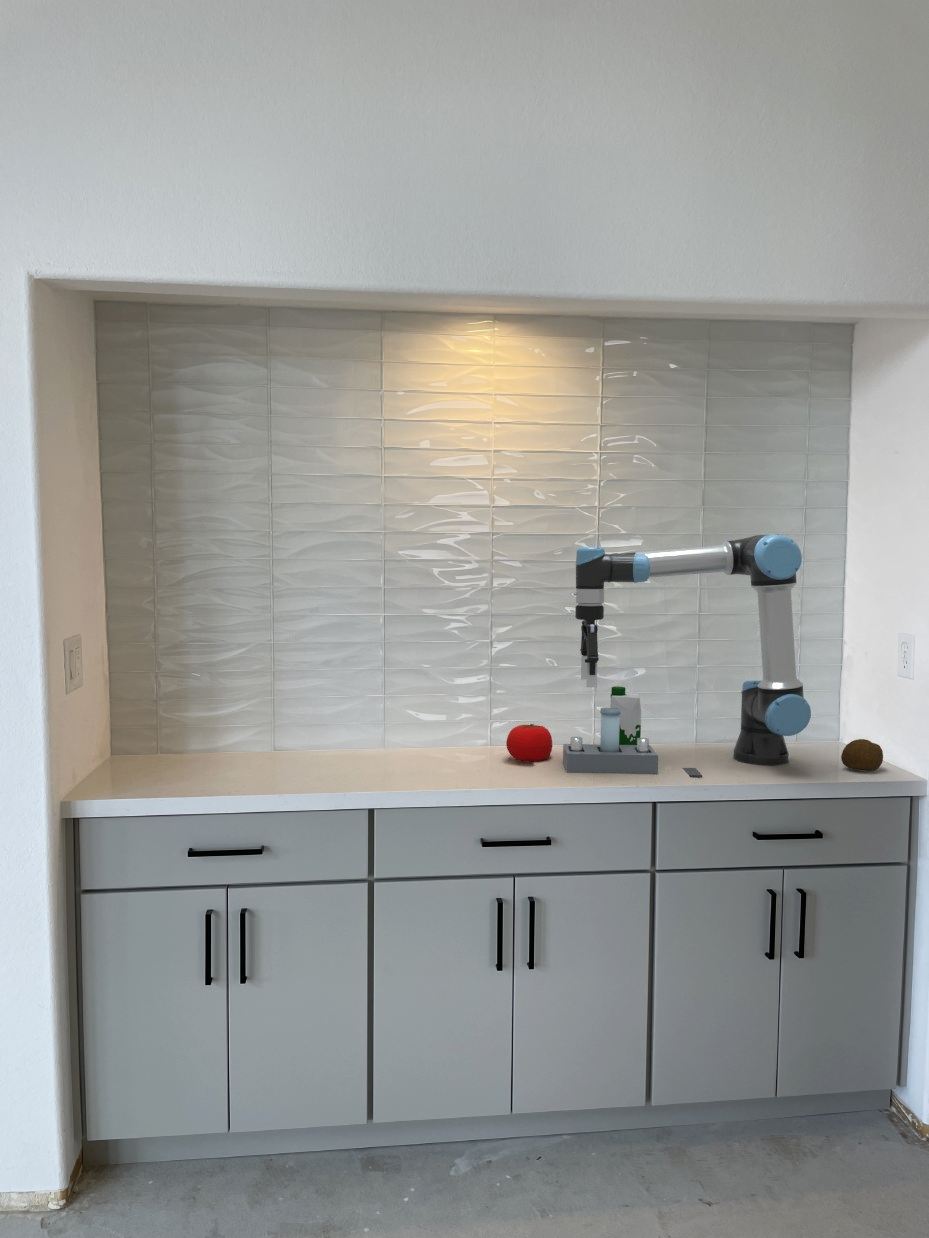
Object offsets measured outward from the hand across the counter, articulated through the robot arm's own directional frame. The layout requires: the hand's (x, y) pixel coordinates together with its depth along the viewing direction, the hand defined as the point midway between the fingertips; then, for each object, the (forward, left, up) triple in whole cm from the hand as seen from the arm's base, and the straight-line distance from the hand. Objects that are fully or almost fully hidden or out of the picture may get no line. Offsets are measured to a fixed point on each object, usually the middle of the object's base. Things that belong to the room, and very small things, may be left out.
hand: (588, 683), depth 242 cm
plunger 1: (+3, 0, -22) cm, 22 cm away
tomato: (+15, -11, -24) cm, 31 cm away
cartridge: (-6, 0, -23) cm, 24 cm away
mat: (-26, +1, -24) cm, 35 cm away
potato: (-77, -6, -24) cm, 81 cm away
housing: (-6, 0, -24) cm, 25 cm away
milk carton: (-13, -19, -24) cm, 33 cm away
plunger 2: (-15, 0, -22) cm, 26 cm away
